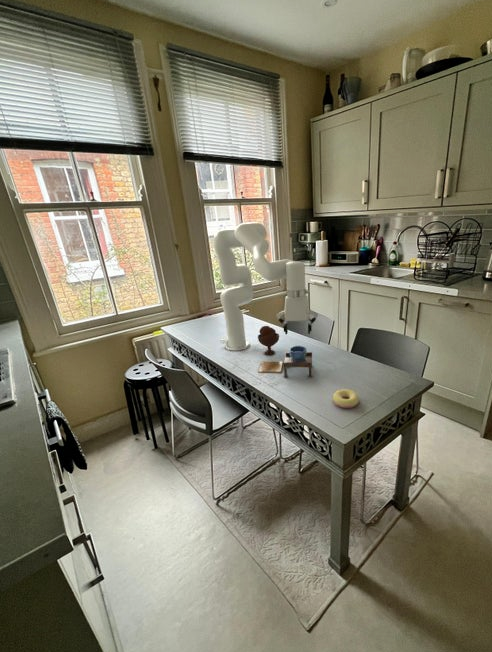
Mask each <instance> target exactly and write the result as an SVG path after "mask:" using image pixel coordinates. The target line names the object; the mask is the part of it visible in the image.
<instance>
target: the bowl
mask: <svg viewBox="0 0 492 652" xmlns="http://www.w3.org/2000/svg"><path fill="white" fill-rule="evenodd" d="M288 352H289V353H290V356H291V361H292V362H304V361H305V356H306V352H307V347H305V346H302V345H295V346H291V347H290V348H289V351H288Z"/></svg>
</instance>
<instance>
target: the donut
mask: <svg viewBox="0 0 492 652" xmlns="http://www.w3.org/2000/svg"><path fill="white" fill-rule="evenodd" d="M332 400H333V403H334V404H335V405H336V406H337V407H340V408H342V409H351V408H354V407H355V406H357V405H358V403H359V401H360V397H359V395H358V394H357V392H355V391H354V390H352V389H347V388H343V389H342V388H341V389H338V390H337V391H335V392H334V394H333V396H332Z"/></svg>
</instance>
